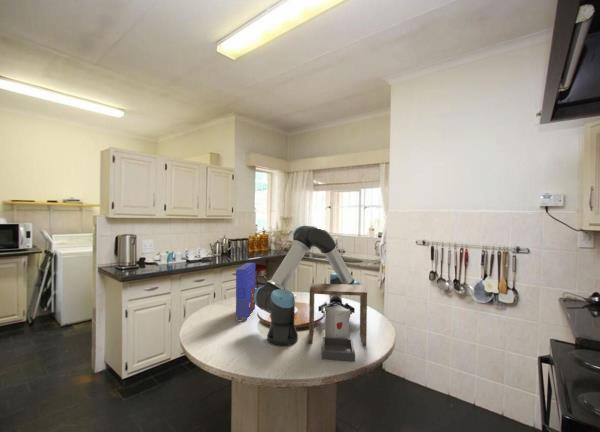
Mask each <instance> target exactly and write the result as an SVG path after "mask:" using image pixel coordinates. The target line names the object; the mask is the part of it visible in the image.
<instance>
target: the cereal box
mask: <svg viewBox="0 0 600 432" xmlns="http://www.w3.org/2000/svg"><path fill="white" fill-rule="evenodd" d="M235 269H236V268H235ZM255 292H256V262H246V263H244V264H243V265H241V266H239V267H238V268H237V269H236V270H235V321H236V320H242V321H241V322H246V321H247V320H248V319H249V318H250V316H251V315H252V314H251V313H253V312H254V311H255V309H256V304H255V302H254V294H255ZM253 310H254V311H253ZM250 314H251V315H250ZM248 317H249V318H248ZM247 318H248V319H247Z"/></svg>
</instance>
